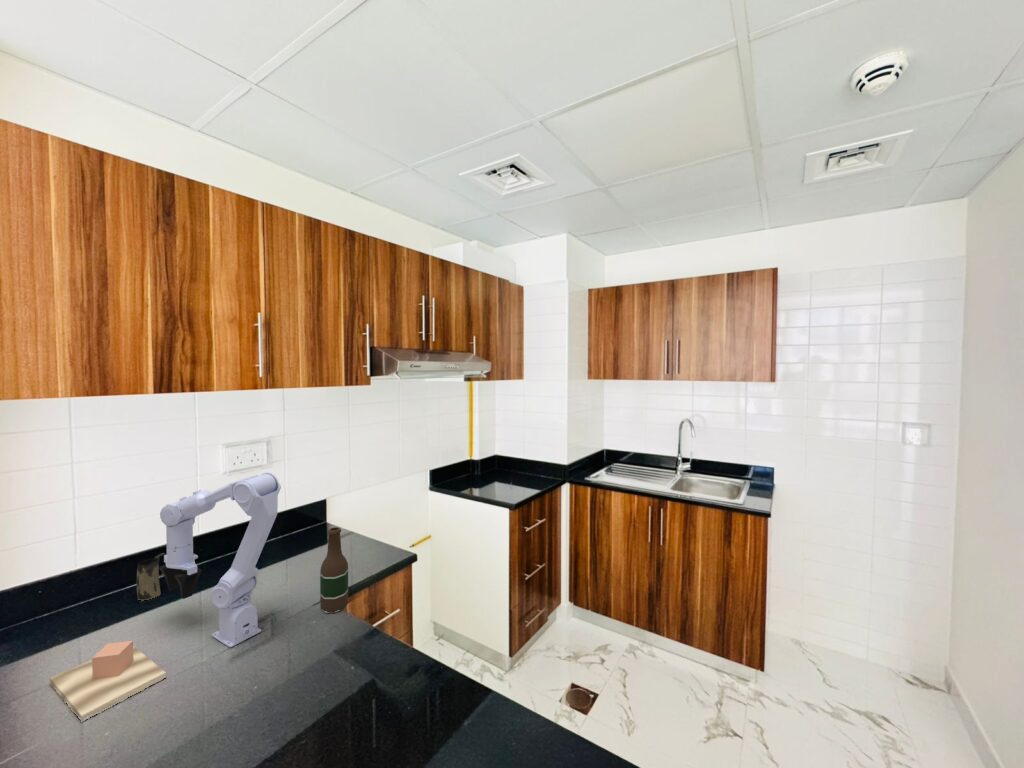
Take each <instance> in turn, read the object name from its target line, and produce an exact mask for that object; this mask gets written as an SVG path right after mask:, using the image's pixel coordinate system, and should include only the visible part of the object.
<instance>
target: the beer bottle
mask: <svg viewBox="0 0 1024 768" xmlns="http://www.w3.org/2000/svg"><path fill="white" fill-rule="evenodd" d="M341 532H342V530H341V528H340V527H337V526H336V527H335V526H334V527H331V528H329V529H328V530H327V534H328V539H327V540H328V541H327V552H326V557H325V558H324V560H323V561H322V563H321V566H320V572H319V577H320V578H319V582H320V583H319V587H320V590H319V593H320V595H319V596H320V597H319V598H320V602H319V604H320V610H321V609H323V610H324V611H327V612H335V611H337V610H342V611H344V610H345V608H346V607H347V605H348V604H349V564H348V561H347V560H348V559H347V558H346V556H345V555H344V554H343V551H342V542H341V541H342V540H341Z"/></svg>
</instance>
